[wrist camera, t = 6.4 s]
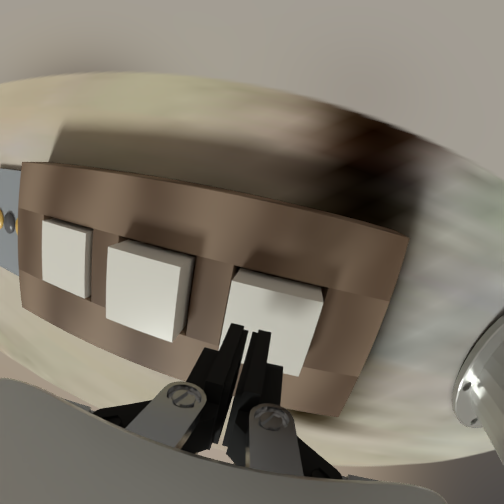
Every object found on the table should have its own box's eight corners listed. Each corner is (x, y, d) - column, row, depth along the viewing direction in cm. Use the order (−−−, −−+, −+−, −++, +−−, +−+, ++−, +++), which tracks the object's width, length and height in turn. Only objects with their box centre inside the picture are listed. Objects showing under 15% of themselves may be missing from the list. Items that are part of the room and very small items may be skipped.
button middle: (195, 256, 16) (180, 267, 14) (185, 325, 17) (172, 342, 15) (128, 239, 17) (107, 246, 15) (124, 304, 18) (106, 318, 16)
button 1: (320, 287, 16) (323, 302, 13) (299, 355, 17) (298, 376, 15) (240, 268, 16) (231, 280, 14) (226, 337, 17) (217, 356, 15)
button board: (392, 229, 16) (409, 238, 14) (335, 389, 19) (338, 417, 17) (47, 162, 19) (22, 162, 16) (44, 295, 22) (22, 306, 19)
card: (36, 172, 20) (31, 172, 19) (33, 281, 22) (29, 283, 21) (-1, 167, 20) (-5, 168, 20) (-2, 262, 23) (-6, 263, 22)
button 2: (106, 227, 18) (85, 233, 16) (102, 288, 19) (84, 298, 17) (62, 216, 19) (42, 220, 16) (61, 271, 20) (42, 279, 18)
